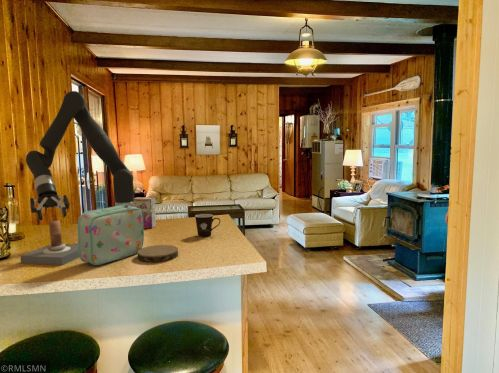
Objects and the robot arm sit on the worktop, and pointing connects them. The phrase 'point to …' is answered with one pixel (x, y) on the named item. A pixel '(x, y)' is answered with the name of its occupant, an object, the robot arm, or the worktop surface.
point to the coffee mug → (205, 224)
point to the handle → (55, 236)
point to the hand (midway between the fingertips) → (53, 217)
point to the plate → (51, 255)
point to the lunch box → (110, 234)
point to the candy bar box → (147, 210)
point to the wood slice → (157, 253)
